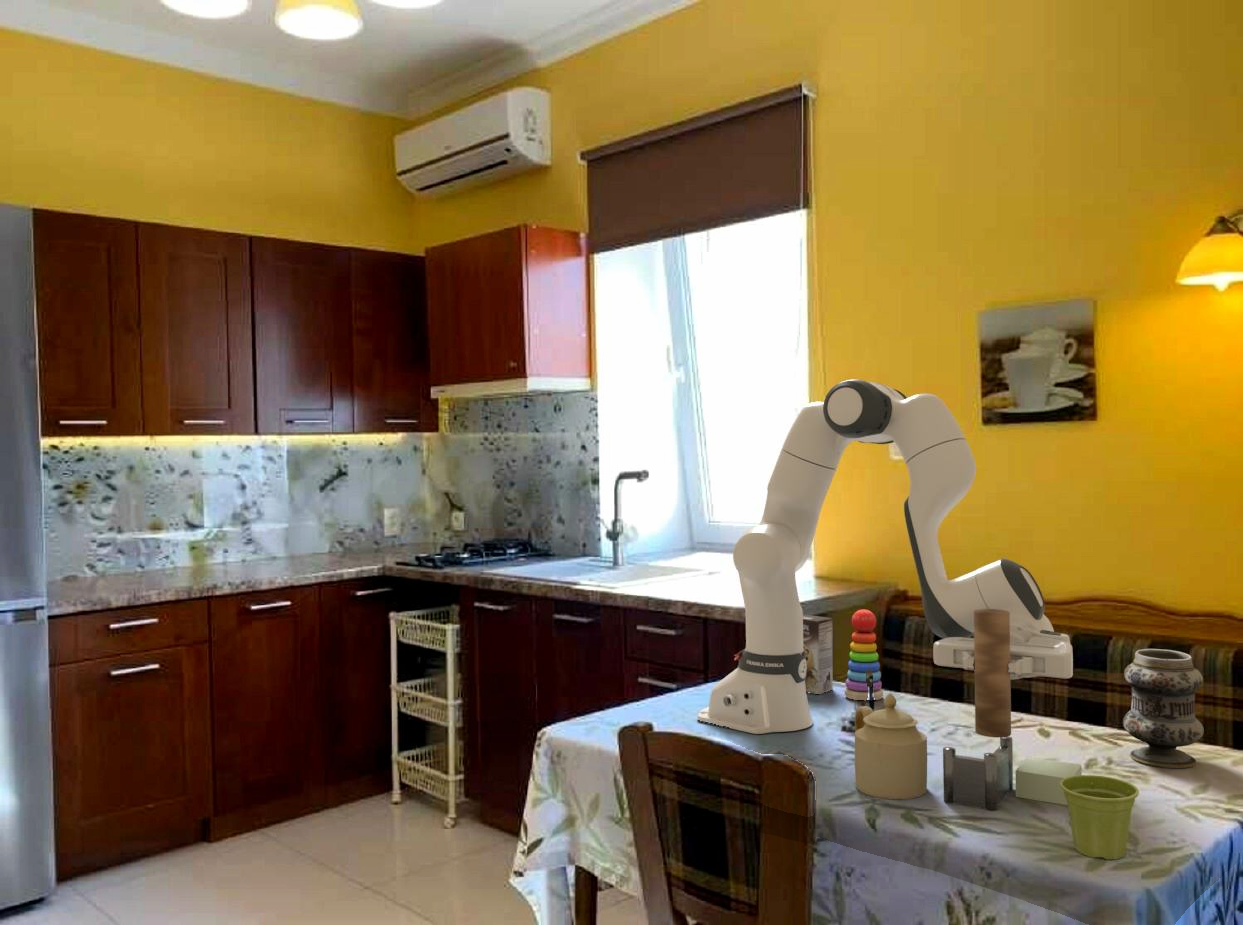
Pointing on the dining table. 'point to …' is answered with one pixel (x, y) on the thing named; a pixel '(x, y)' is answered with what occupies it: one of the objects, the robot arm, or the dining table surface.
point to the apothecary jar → (1163, 707)
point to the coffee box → (818, 653)
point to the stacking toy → (863, 658)
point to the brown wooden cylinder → (992, 672)
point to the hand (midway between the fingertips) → (990, 666)
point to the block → (1044, 779)
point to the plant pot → (1099, 814)
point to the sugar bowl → (889, 753)
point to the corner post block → (978, 777)
